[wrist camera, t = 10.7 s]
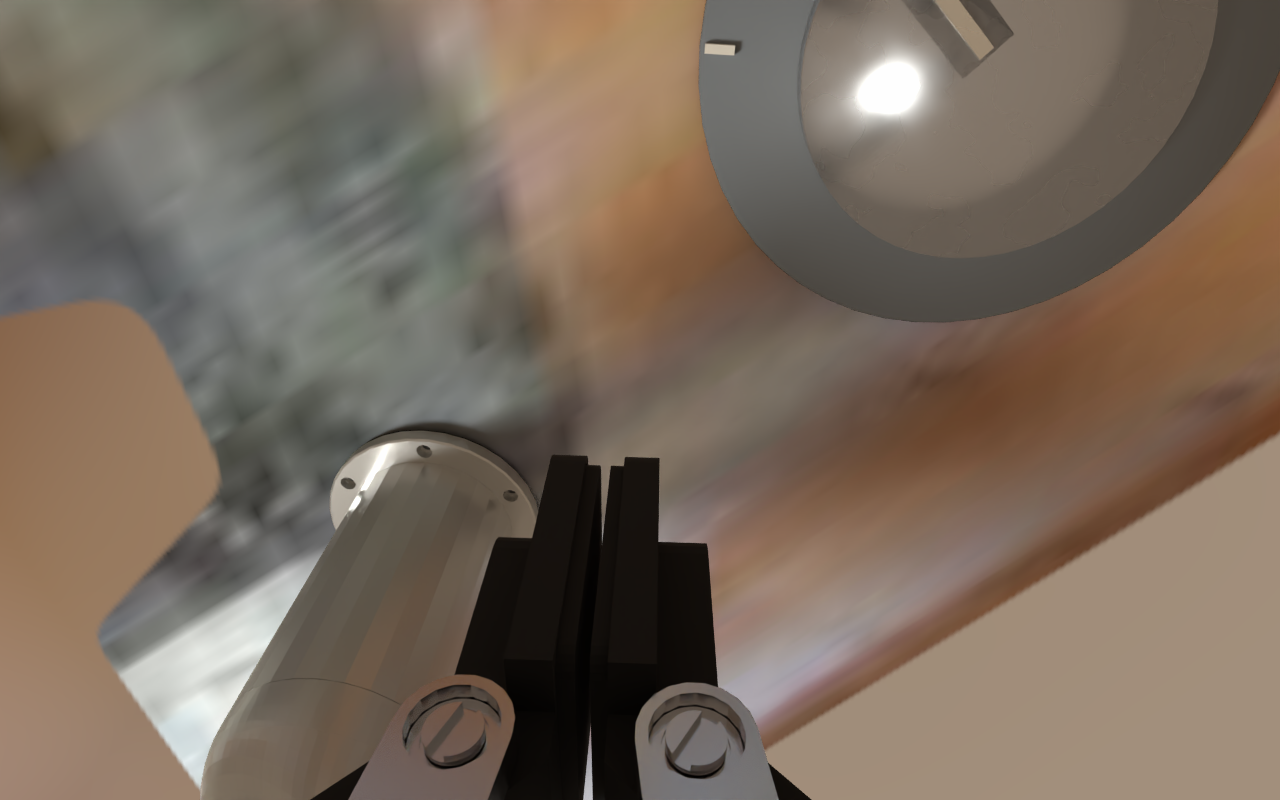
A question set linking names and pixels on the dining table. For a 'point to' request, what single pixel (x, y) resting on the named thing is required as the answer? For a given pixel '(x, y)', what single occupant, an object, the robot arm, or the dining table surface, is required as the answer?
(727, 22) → the dial plate
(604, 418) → the dining table surface
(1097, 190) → the dial
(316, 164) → the dining table surface
